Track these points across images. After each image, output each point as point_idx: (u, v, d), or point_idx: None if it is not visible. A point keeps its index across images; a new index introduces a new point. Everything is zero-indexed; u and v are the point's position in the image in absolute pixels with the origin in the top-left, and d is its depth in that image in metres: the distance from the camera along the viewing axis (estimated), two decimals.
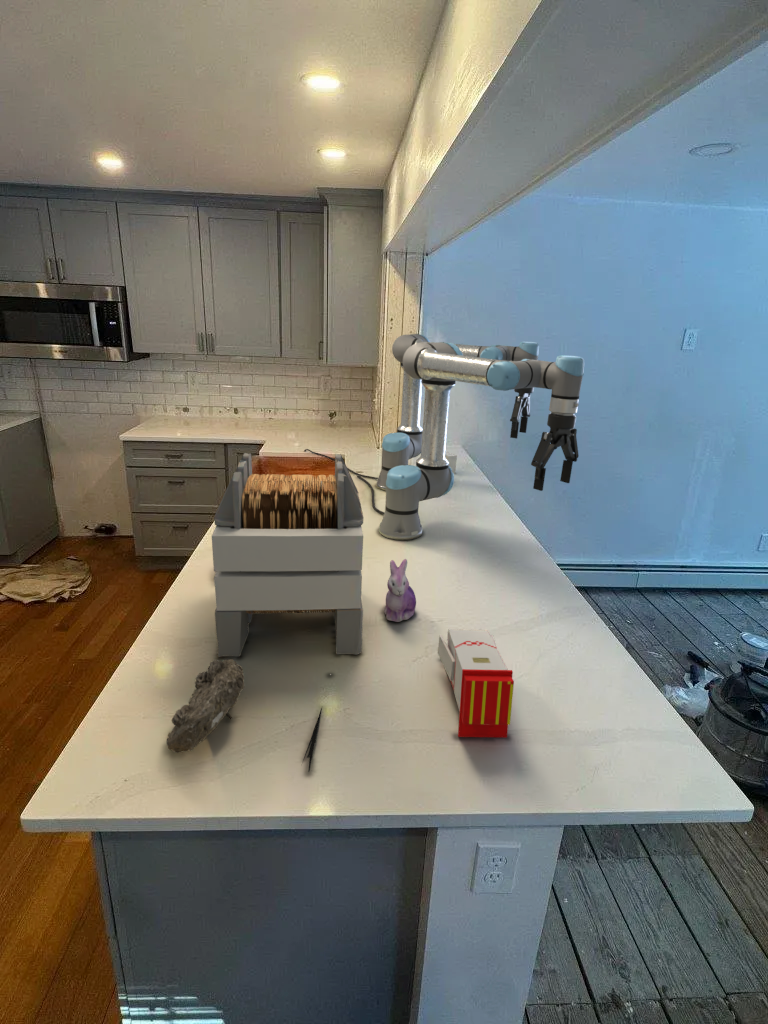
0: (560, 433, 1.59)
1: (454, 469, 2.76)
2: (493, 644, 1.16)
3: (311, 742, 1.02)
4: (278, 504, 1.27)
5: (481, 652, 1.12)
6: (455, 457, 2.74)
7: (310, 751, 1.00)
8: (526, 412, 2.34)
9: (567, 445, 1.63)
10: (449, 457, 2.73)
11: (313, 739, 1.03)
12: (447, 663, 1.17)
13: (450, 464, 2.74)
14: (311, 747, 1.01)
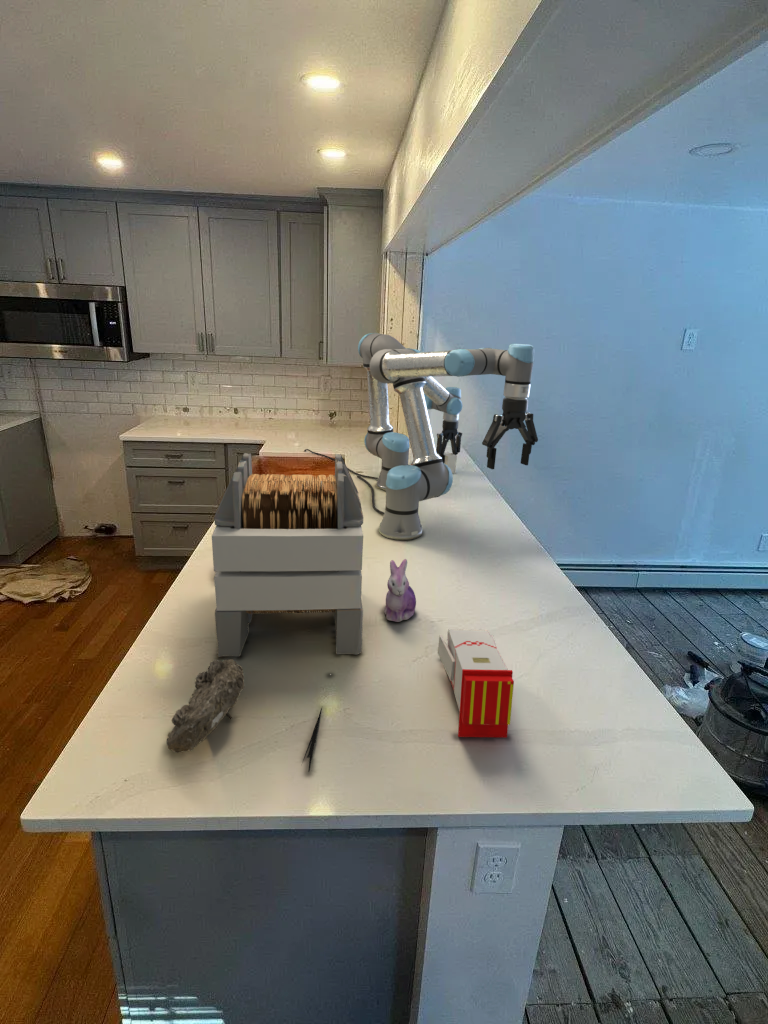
0: (512, 417, 1.70)
1: (454, 469, 2.76)
2: (493, 644, 1.16)
3: (311, 742, 1.02)
4: (278, 504, 1.27)
5: (481, 652, 1.12)
6: (455, 457, 2.74)
7: (310, 751, 1.00)
8: (453, 448, 2.76)
9: (522, 428, 1.74)
10: (449, 457, 2.73)
11: (313, 739, 1.03)
12: (447, 663, 1.17)
13: (450, 464, 2.74)
14: (311, 747, 1.01)
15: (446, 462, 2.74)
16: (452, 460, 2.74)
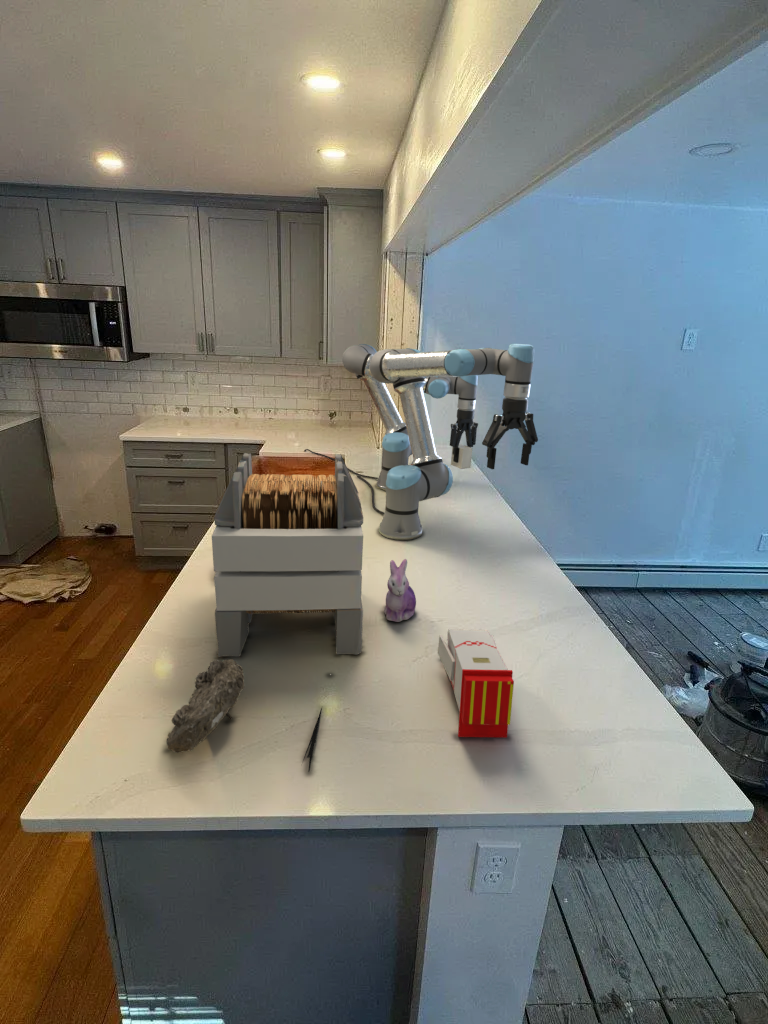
0: (512, 417, 1.70)
1: (469, 463, 2.51)
2: (493, 644, 1.16)
3: (311, 742, 1.02)
4: (278, 504, 1.27)
5: (481, 652, 1.12)
6: (470, 450, 2.49)
7: (310, 751, 1.00)
8: (469, 440, 2.51)
9: (522, 428, 1.74)
10: (464, 450, 2.47)
11: (313, 739, 1.03)
12: (447, 663, 1.17)
13: (465, 458, 2.49)
14: (311, 747, 1.01)
15: (461, 455, 2.48)
16: (467, 453, 2.49)
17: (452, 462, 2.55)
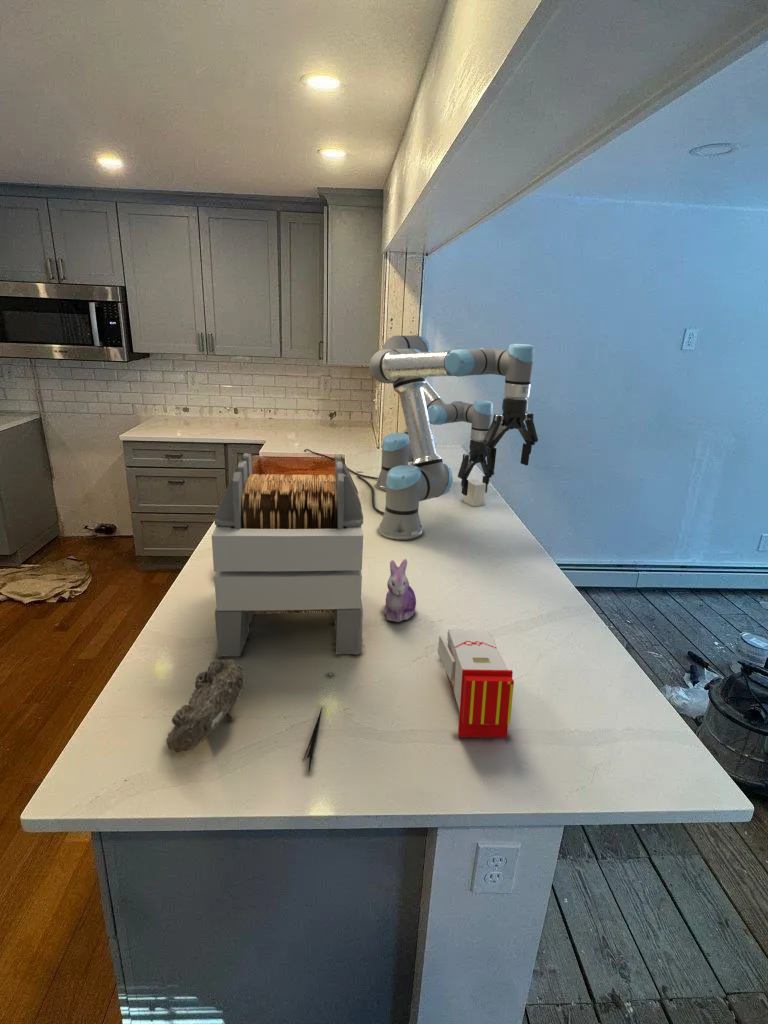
0: (512, 417, 1.70)
1: (482, 500, 2.33)
2: (493, 644, 1.16)
3: (311, 742, 1.02)
4: (278, 504, 1.27)
5: (481, 652, 1.12)
6: (484, 486, 2.31)
7: (310, 751, 1.00)
8: (486, 471, 2.33)
9: (522, 428, 1.74)
10: (477, 486, 2.29)
11: (313, 739, 1.03)
12: (447, 663, 1.17)
13: (478, 494, 2.31)
14: (311, 747, 1.01)
15: (473, 492, 2.30)
16: (480, 489, 2.31)
17: (464, 498, 2.37)
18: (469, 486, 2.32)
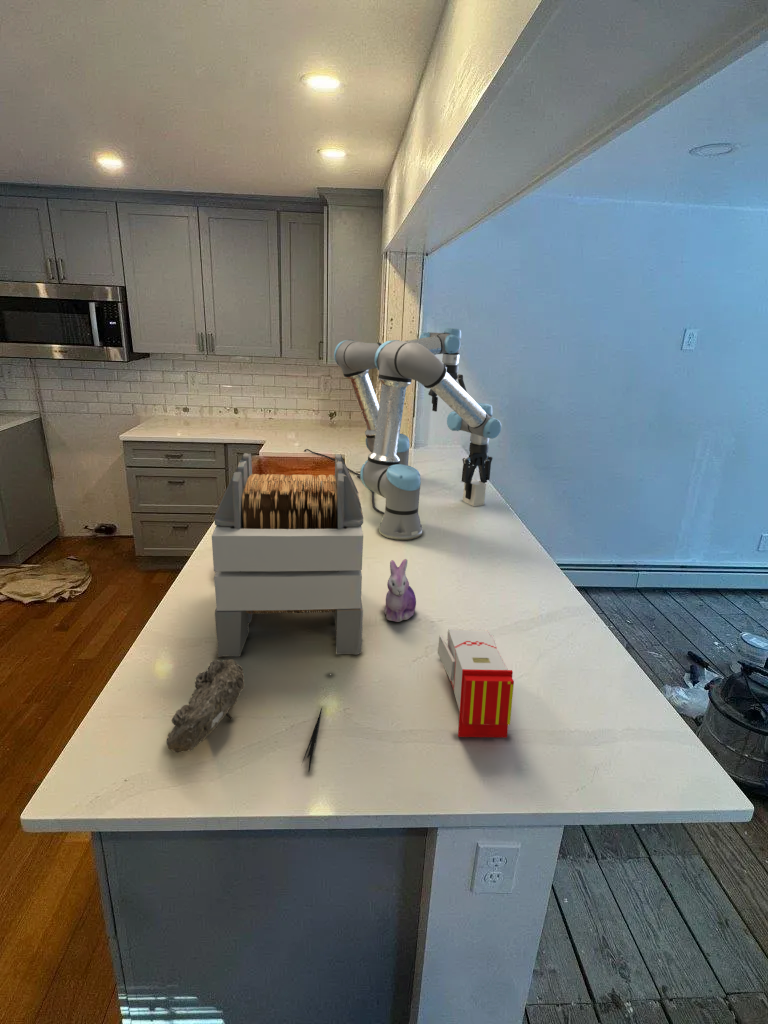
0: (477, 457, 2.28)
1: (482, 500, 2.33)
2: (493, 644, 1.16)
3: (311, 742, 1.02)
4: (278, 504, 1.27)
5: (481, 652, 1.12)
6: (484, 486, 2.31)
7: (310, 751, 1.00)
8: None
9: (482, 466, 2.30)
10: (477, 486, 2.29)
11: (313, 739, 1.03)
12: (447, 663, 1.17)
13: (478, 494, 2.31)
14: (311, 747, 1.01)
15: (473, 492, 2.30)
16: (480, 489, 2.31)
17: (464, 498, 2.37)
18: None
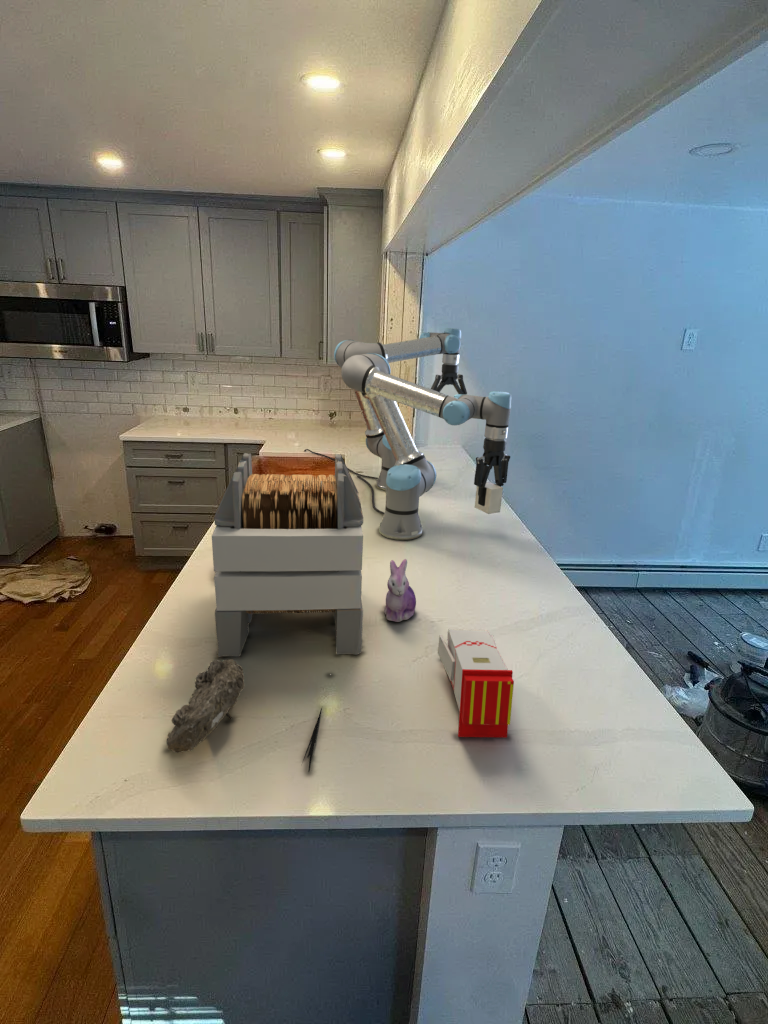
0: (492, 455, 1.91)
1: (498, 506, 1.97)
2: (493, 644, 1.16)
3: (311, 742, 1.02)
4: (278, 504, 1.27)
5: (481, 652, 1.12)
6: (501, 490, 1.95)
7: (310, 751, 1.00)
8: (459, 391, 2.65)
9: (498, 467, 1.94)
10: (493, 490, 1.93)
11: (313, 739, 1.03)
12: (447, 663, 1.17)
13: (494, 500, 1.95)
14: (311, 747, 1.01)
15: (488, 497, 1.94)
16: (497, 494, 1.94)
17: (476, 504, 2.00)
18: None
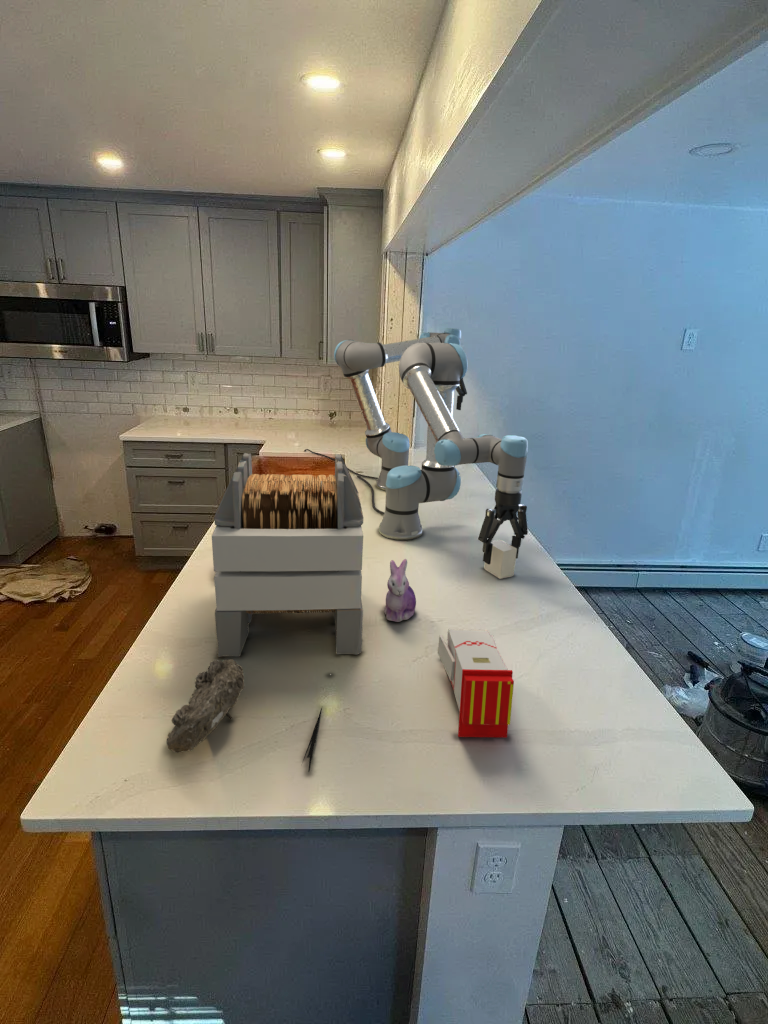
0: (505, 509, 1.65)
1: (511, 569, 1.71)
2: (493, 644, 1.16)
3: (311, 742, 1.02)
4: (278, 504, 1.27)
5: (481, 652, 1.12)
6: (514, 551, 1.69)
7: (310, 751, 1.00)
8: (459, 391, 2.65)
9: (514, 520, 1.68)
10: (505, 552, 1.67)
11: (313, 739, 1.03)
12: (447, 663, 1.17)
13: (506, 563, 1.69)
14: (311, 747, 1.01)
15: (500, 560, 1.68)
16: (510, 557, 1.68)
17: (486, 566, 1.74)
18: (494, 551, 1.70)
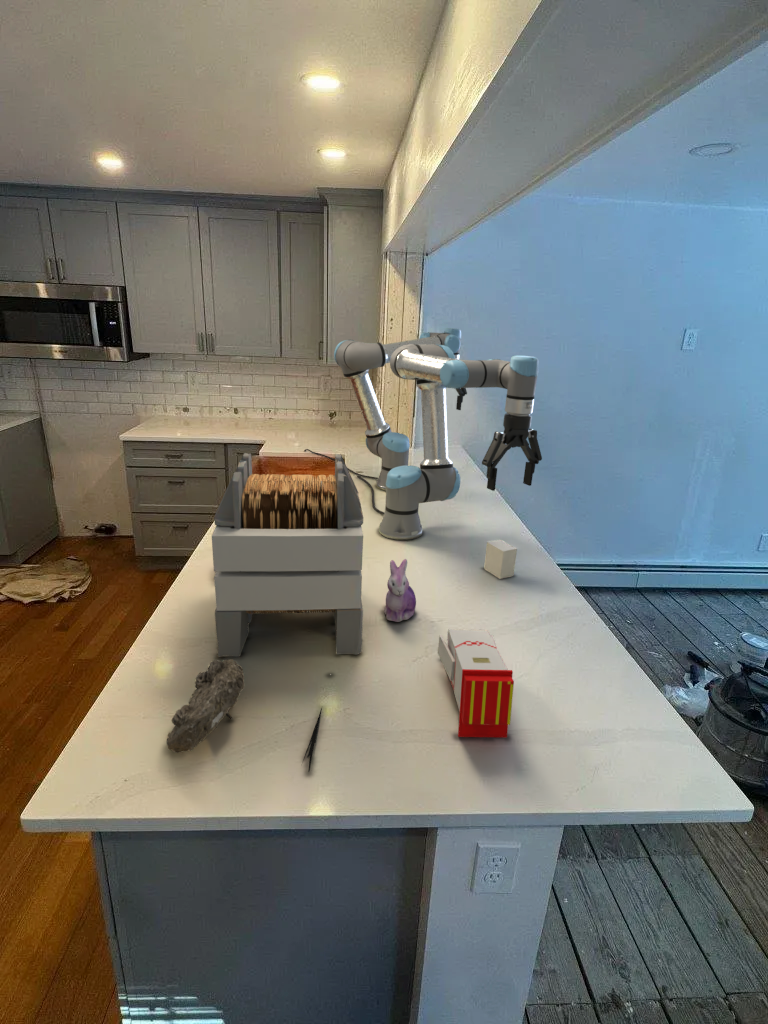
0: (515, 434, 1.58)
1: (511, 569, 1.71)
2: (493, 644, 1.16)
3: (311, 742, 1.02)
4: (278, 504, 1.27)
5: (481, 652, 1.12)
6: (514, 551, 1.69)
7: (310, 751, 1.00)
8: (459, 391, 2.65)
9: (525, 446, 1.61)
10: (505, 552, 1.67)
11: (313, 739, 1.03)
12: (447, 663, 1.17)
13: (506, 563, 1.69)
14: (311, 747, 1.01)
15: (500, 560, 1.68)
16: (510, 557, 1.68)
17: (486, 566, 1.74)
18: (494, 551, 1.70)
